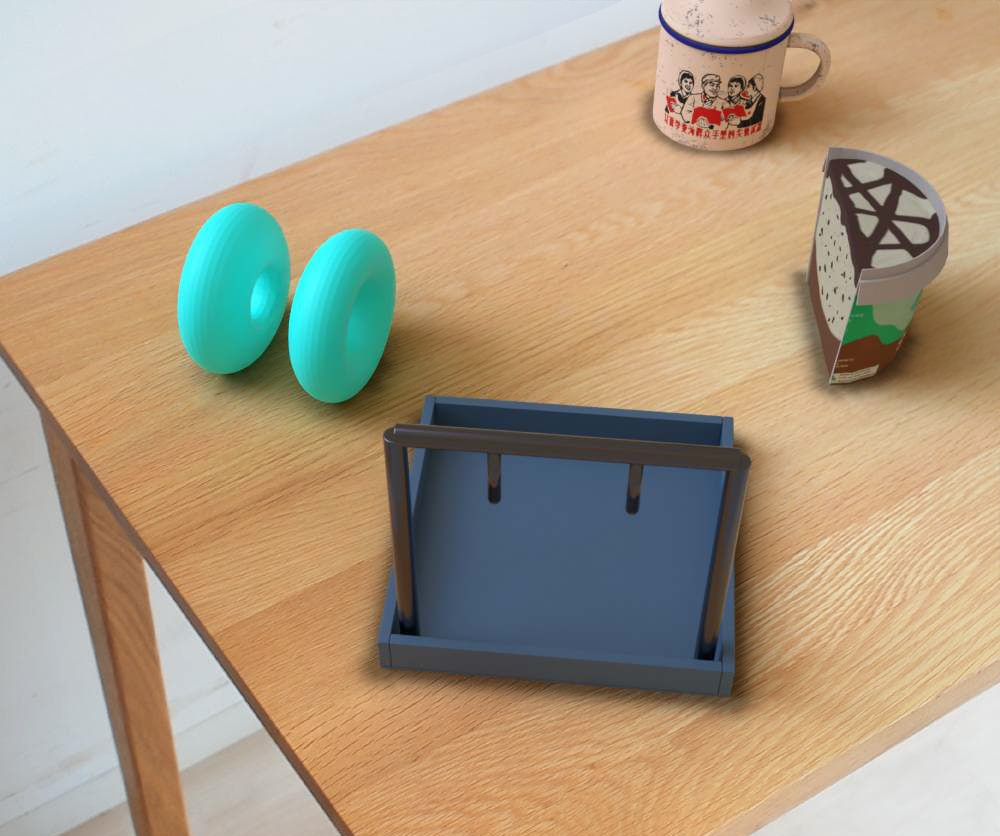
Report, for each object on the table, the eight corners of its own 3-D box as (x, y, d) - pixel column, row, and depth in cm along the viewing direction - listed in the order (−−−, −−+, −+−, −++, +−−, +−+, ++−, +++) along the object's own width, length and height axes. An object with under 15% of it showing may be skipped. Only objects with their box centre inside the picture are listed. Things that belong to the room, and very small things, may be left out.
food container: (936, 409, 84) (979, 276, 77) (831, 410, 84) (864, 276, 77) (896, 273, 92) (932, 140, 85) (800, 273, 92) (827, 140, 85)
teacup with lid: (645, 156, 101) (659, 2, 92) (651, 83, 107) (665, -67, 98) (819, 168, 100) (849, 14, 91) (815, 94, 106) (844, -57, 97)
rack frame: (710, 673, 72) (753, 443, 60) (709, 690, 71) (753, 461, 59) (403, 647, 73) (383, 416, 61) (400, 663, 72) (380, 433, 60)
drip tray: (727, 451, 82) (733, 416, 80) (728, 705, 71) (735, 672, 69) (427, 429, 83) (425, 394, 81) (380, 675, 72) (376, 642, 70)
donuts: (260, 296, 91) (238, 163, 83) (407, 333, 89) (398, 199, 81) (184, 401, 85) (154, 268, 77) (340, 443, 82) (324, 310, 75)
